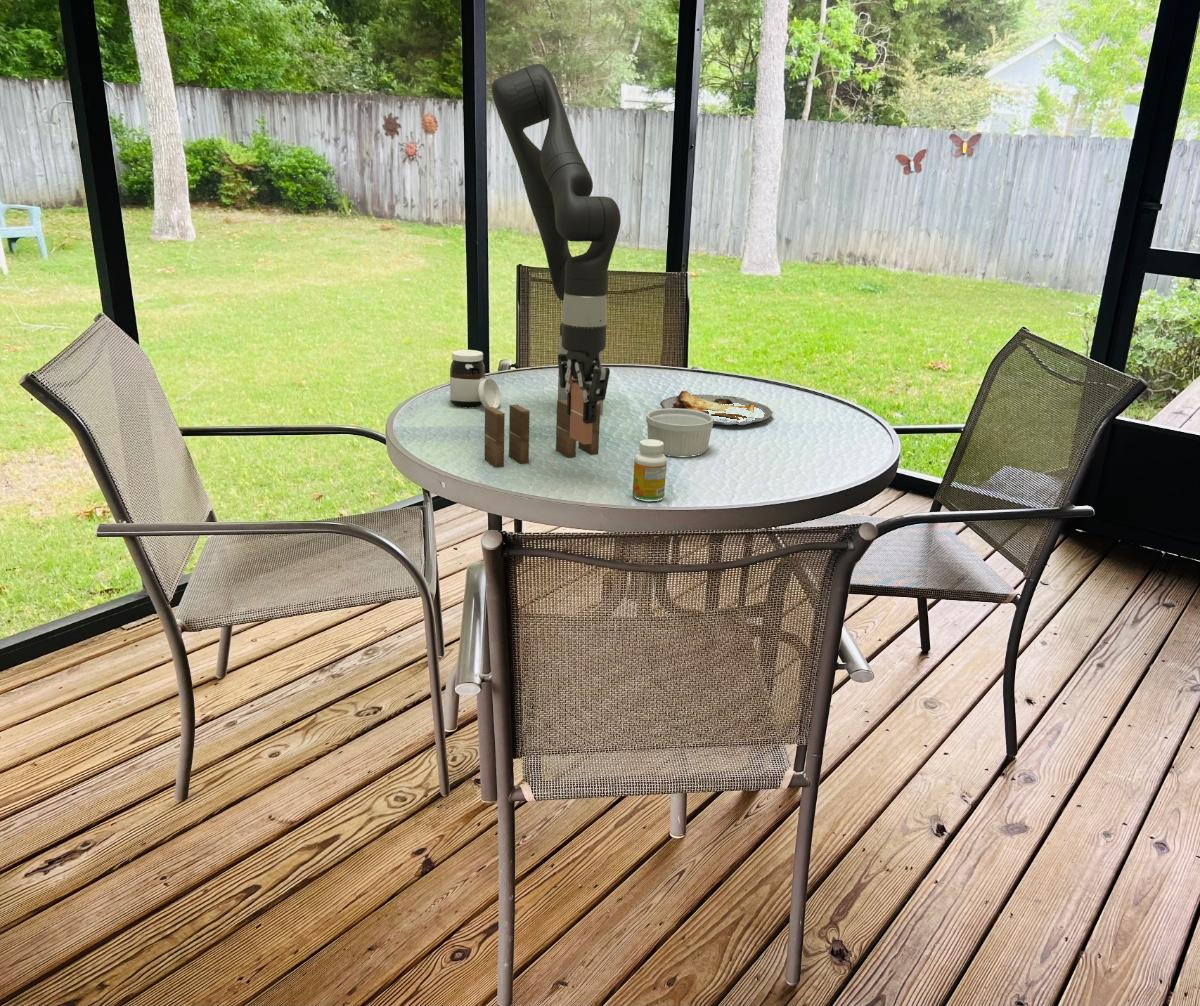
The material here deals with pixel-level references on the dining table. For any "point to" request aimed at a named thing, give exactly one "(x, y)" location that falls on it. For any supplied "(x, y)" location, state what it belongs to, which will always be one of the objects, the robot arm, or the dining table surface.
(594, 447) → the domino
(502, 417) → the domino
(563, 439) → the domino
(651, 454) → the supplement bottle
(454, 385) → the spread jar
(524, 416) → the domino
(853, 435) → the dining table surface
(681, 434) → the ramekin
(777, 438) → the dining table surface
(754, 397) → the dining table surface
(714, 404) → the food plate
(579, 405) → the domino
